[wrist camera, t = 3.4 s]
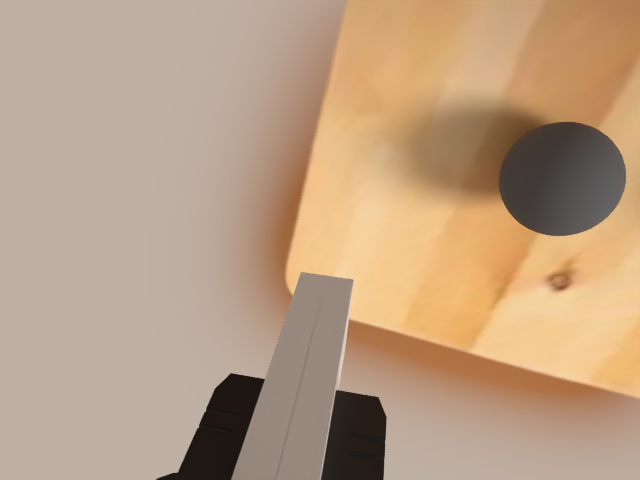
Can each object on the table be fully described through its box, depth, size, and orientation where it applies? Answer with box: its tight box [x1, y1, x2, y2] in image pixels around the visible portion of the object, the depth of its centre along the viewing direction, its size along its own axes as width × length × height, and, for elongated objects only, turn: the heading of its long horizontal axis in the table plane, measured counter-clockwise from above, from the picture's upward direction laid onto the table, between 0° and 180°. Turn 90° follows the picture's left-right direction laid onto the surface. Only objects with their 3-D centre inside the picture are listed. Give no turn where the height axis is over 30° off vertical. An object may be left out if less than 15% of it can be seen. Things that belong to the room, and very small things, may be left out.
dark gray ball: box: [499, 122, 626, 236], centre depth 23 cm, size 6×6×6 cm
